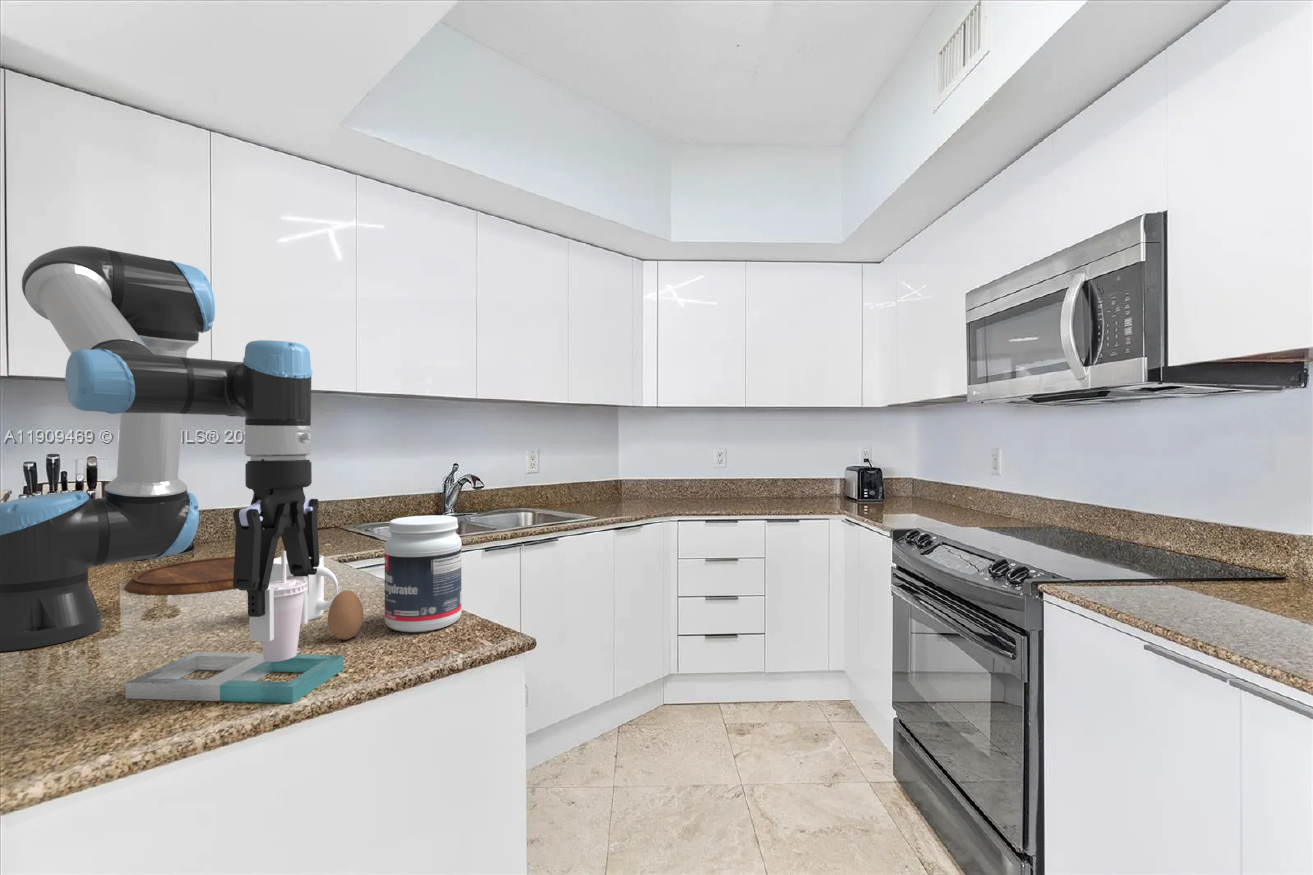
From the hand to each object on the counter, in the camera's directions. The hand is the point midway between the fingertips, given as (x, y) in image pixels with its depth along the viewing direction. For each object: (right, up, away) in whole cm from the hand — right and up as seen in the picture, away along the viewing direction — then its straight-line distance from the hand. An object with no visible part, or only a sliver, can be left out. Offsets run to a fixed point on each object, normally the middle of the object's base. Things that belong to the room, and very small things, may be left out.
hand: (280, 631), depth 82 cm
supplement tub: (+9, -7, +27) cm, 29 cm away
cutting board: (-53, -7, +61) cm, 81 cm away
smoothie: (0, -4, 0) cm, 4 cm away
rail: (-6, -7, 0) cm, 9 cm away
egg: (0, -7, +18) cm, 20 cm away
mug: (-14, -7, +30) cm, 34 cm away
